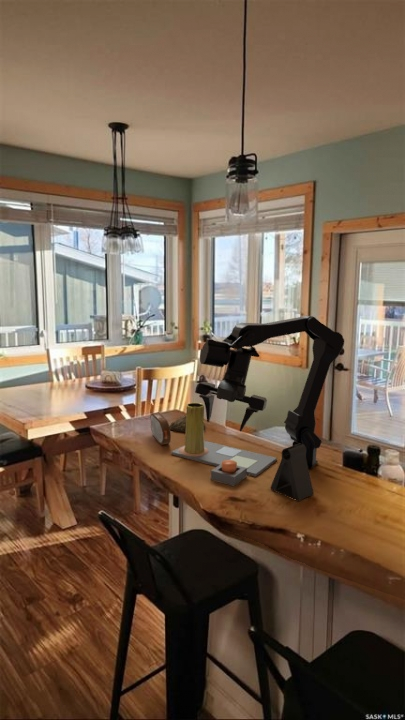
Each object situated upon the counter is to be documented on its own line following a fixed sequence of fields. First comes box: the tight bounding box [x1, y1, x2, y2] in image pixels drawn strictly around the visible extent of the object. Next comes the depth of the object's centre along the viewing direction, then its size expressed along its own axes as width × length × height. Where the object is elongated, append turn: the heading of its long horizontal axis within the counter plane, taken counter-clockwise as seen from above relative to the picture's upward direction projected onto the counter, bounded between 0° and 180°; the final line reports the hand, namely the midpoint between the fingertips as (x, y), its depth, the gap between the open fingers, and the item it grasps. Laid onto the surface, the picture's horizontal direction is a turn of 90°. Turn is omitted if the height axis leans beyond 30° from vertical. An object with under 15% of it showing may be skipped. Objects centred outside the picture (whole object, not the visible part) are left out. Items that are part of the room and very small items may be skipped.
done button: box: [222, 460, 237, 473], centre depth 125 cm, size 4×4×2 cm
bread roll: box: [169, 414, 206, 433], centre depth 168 cm, size 13×12×5 cm
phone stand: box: [269, 443, 315, 502], centre depth 118 cm, size 9×6×12 cm, turn 41°
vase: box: [184, 402, 205, 454], centre depth 142 cm, size 6×6×14 cm
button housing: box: [210, 464, 247, 487], centre depth 126 cm, size 7×7×2 cm
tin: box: [149, 411, 172, 445], centre depth 153 cm, size 15×3×8 cm, turn 22°
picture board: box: [170, 440, 278, 477], centre depth 140 cm, size 28×14×1 cm, turn 58°
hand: (224, 426), depth 127 cm, fingers open, 9 cm apart
